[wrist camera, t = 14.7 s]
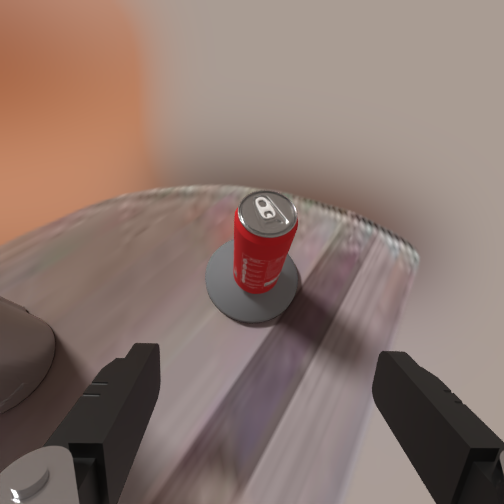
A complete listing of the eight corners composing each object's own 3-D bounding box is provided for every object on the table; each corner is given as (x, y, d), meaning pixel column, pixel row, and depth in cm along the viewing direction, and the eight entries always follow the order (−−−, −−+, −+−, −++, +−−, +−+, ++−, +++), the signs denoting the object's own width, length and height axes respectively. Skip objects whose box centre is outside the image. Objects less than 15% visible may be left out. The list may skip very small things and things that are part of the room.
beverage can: (243, 304, 29) (250, 248, 18) (227, 265, 31) (225, 196, 20) (284, 288, 30) (312, 228, 20) (265, 252, 32) (282, 181, 22)
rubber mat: (188, 268, 31) (187, 265, 30) (258, 226, 35) (259, 223, 34) (242, 343, 27) (242, 342, 26) (314, 287, 31) (316, 284, 30)
